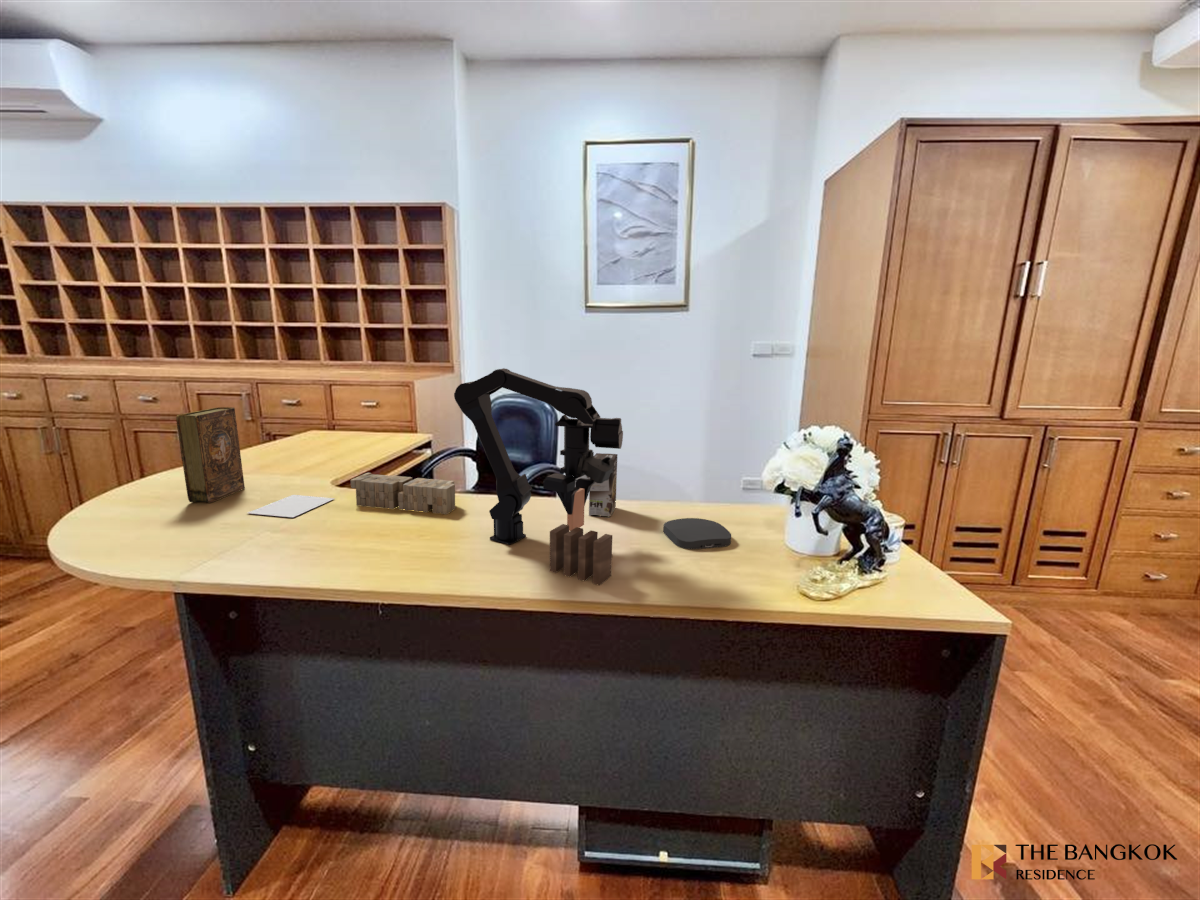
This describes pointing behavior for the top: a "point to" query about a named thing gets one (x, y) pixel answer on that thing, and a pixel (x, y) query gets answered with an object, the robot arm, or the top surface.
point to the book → (210, 453)
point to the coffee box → (604, 491)
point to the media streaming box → (697, 533)
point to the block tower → (404, 493)
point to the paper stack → (291, 506)
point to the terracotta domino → (577, 511)
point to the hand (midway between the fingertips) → (575, 511)
